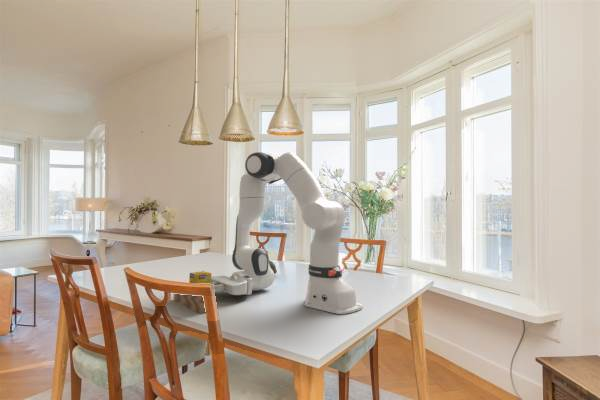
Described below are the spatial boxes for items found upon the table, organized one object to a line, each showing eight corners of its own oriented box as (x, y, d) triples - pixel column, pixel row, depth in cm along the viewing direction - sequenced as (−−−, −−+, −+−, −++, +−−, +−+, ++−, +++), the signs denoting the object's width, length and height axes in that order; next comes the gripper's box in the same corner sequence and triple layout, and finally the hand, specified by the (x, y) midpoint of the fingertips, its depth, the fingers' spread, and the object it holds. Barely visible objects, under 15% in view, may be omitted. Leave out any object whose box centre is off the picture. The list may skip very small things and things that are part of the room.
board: (208, 312, 118) (208, 294, 118) (200, 313, 116) (200, 296, 116) (181, 298, 134) (181, 282, 134) (173, 299, 132) (174, 283, 132)
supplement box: (197, 305, 126) (198, 275, 126) (188, 301, 130) (189, 272, 130) (211, 301, 130) (211, 272, 130) (202, 298, 134) (202, 270, 134)
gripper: (226, 270, 149) (196, 274, 139) (254, 279, 134) (222, 284, 124) (226, 285, 149) (195, 290, 139) (253, 295, 134) (222, 301, 124)
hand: (208, 287), depth 132 cm, fingers closed
